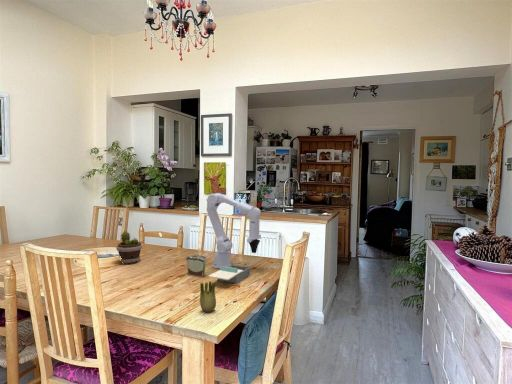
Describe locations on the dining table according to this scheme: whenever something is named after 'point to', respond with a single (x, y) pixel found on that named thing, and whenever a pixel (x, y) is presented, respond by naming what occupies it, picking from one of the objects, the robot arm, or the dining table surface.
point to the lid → (226, 273)
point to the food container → (196, 265)
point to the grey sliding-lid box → (240, 276)
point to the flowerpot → (129, 249)
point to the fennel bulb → (207, 297)
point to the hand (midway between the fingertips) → (253, 252)
